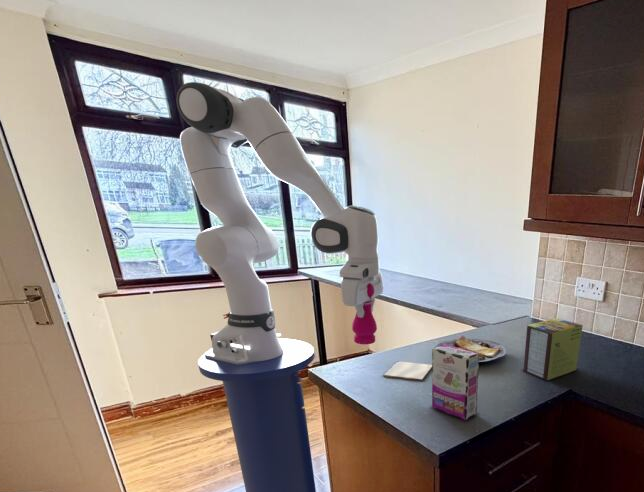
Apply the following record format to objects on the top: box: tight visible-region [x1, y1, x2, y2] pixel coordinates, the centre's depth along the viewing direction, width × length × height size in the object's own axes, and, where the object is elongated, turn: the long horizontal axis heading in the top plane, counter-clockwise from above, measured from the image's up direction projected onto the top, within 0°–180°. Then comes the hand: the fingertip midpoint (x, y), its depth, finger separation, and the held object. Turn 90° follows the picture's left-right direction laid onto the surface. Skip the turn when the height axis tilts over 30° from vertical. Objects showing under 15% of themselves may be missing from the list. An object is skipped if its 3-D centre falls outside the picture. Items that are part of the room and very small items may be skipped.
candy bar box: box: [431, 344, 480, 421], centre depth 101 cm, size 11×5×16 cm, turn 55°
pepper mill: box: [351, 283, 378, 345], centre depth 121 cm, size 7×7×20 cm
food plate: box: [435, 335, 507, 363], centre depth 142 cm, size 25×23×4 cm
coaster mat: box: [383, 360, 432, 381], centre depth 127 cm, size 12×12×1 cm
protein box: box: [522, 317, 584, 381], centre depth 130 cm, size 10×15×16 cm
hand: (365, 314), depth 121 cm, fingers closed on pepper mill, 4 cm apart
